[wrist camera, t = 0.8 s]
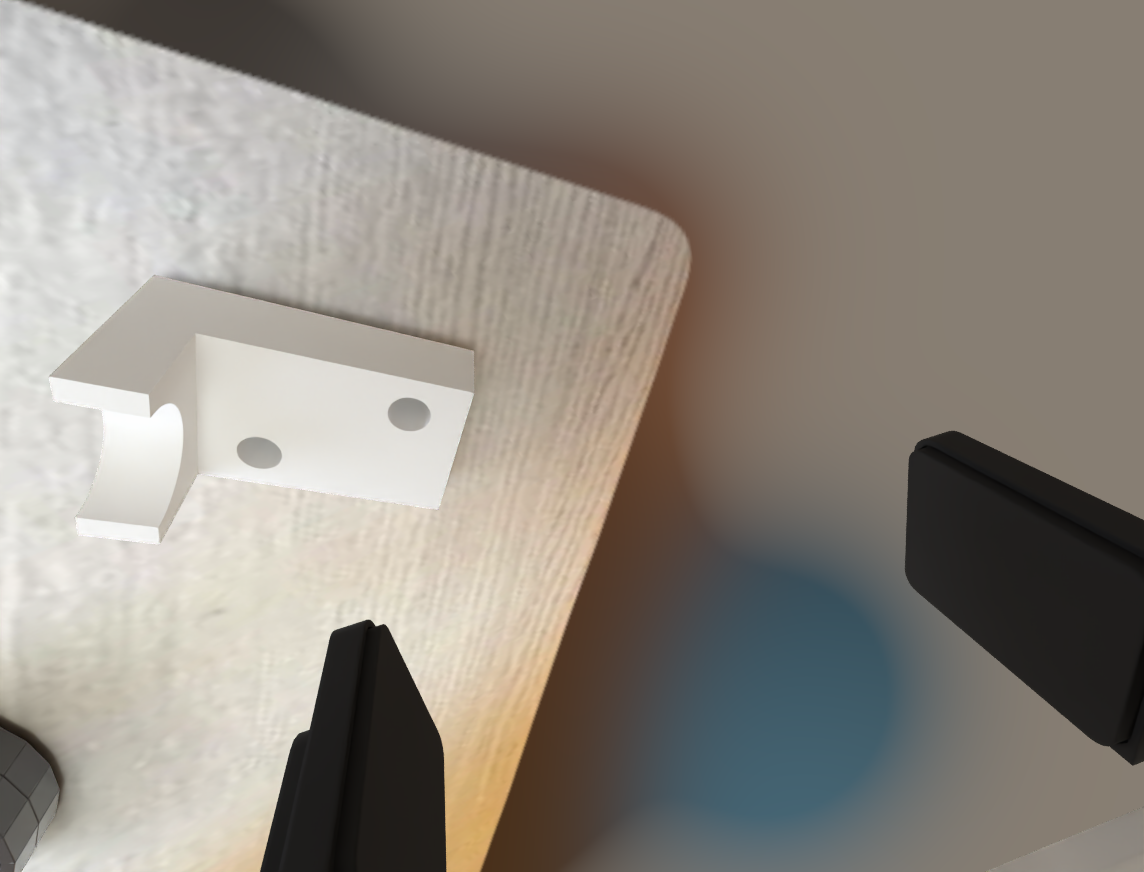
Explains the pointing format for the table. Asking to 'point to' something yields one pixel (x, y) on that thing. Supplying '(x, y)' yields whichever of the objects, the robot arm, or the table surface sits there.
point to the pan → (23, 800)
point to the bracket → (258, 405)
